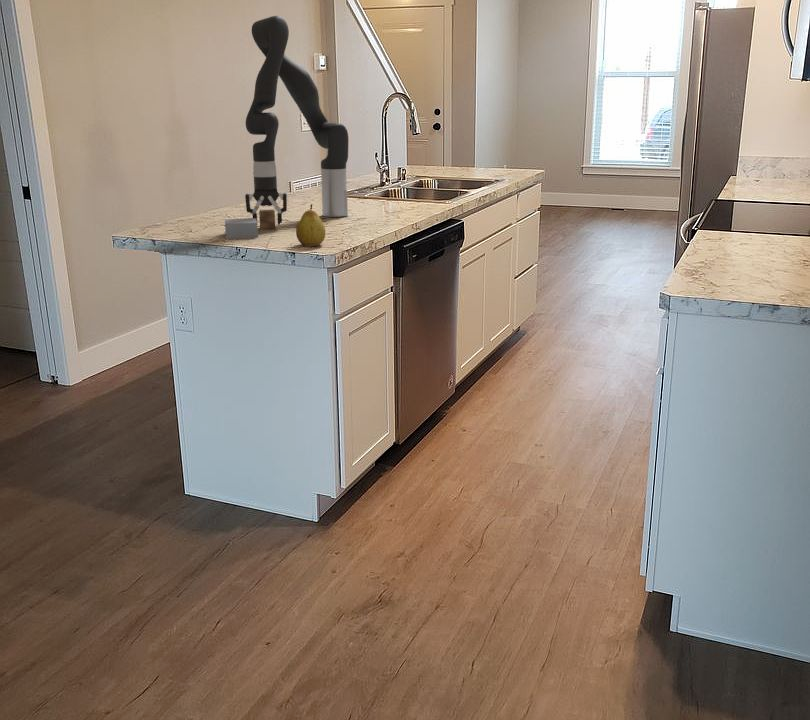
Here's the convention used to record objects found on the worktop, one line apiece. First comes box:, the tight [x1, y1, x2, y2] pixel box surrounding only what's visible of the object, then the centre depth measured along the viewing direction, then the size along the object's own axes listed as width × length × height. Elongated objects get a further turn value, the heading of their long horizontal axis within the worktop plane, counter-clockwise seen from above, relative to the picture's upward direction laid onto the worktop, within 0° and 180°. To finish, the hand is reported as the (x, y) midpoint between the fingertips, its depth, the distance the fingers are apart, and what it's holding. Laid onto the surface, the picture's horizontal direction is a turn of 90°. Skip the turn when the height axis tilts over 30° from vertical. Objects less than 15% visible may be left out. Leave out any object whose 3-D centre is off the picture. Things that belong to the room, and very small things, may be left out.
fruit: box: [295, 203, 327, 247], centre depth 252 cm, size 9×9×12 cm
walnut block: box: [258, 209, 276, 231], centre depth 283 cm, size 5×5×6 cm
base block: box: [224, 217, 259, 240], centre depth 270 cm, size 10×10×5 cm
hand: (267, 224), depth 284 cm, fingers open, 7 cm apart
